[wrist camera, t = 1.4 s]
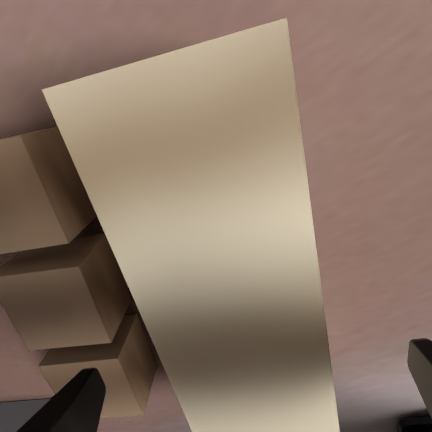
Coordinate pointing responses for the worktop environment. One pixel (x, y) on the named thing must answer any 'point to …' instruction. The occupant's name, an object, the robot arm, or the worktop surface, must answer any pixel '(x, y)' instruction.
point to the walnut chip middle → (65, 294)
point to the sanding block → (212, 224)
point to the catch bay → (18, 413)
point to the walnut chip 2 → (109, 368)
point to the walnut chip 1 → (40, 192)
